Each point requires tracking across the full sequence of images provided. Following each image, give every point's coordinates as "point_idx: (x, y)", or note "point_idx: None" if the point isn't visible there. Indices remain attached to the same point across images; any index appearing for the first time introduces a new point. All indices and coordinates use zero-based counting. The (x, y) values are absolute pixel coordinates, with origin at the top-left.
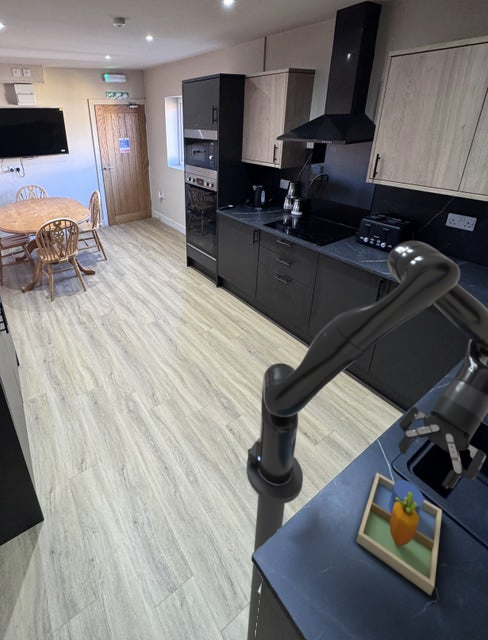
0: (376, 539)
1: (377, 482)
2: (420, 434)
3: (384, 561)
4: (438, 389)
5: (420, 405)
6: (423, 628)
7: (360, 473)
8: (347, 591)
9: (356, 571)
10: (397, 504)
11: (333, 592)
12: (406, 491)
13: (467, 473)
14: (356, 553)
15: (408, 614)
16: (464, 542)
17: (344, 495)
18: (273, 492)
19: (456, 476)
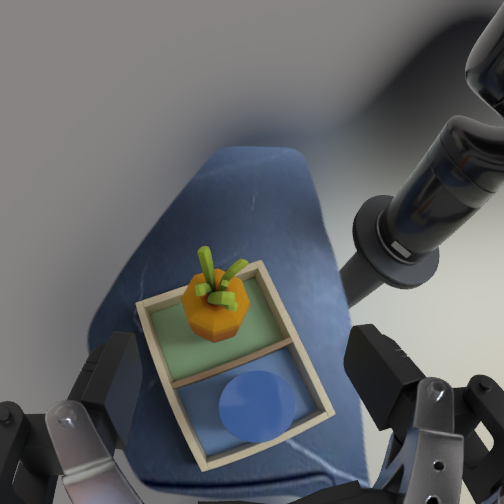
0: None
1: (318, 393)
2: (415, 438)
3: None
4: None
5: None
6: (133, 261)
7: (349, 394)
8: (219, 206)
9: (228, 235)
10: (240, 291)
11: (229, 190)
12: (262, 405)
13: (16, 421)
14: (245, 256)
15: (152, 257)
16: (152, 459)
17: (328, 321)
18: (369, 209)
19: (77, 395)
